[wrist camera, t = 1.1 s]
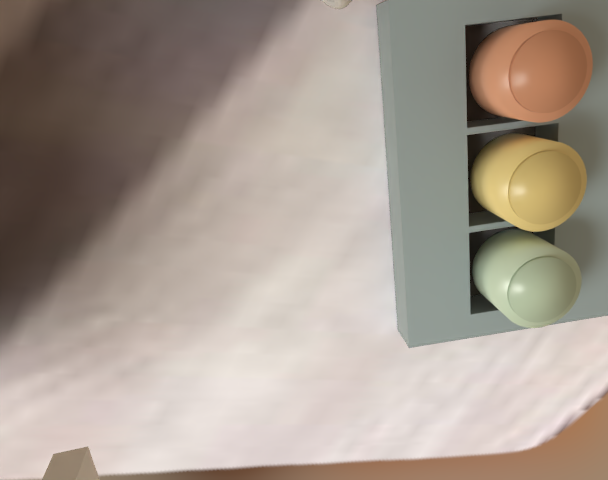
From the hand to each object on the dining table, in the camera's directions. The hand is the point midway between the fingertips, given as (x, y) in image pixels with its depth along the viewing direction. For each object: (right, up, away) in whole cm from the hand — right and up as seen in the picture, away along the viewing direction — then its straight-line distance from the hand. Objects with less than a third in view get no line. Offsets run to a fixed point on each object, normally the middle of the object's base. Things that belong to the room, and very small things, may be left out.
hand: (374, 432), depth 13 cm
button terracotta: (+10, +14, +18) cm, 25 cm away
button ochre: (+11, +9, +20) cm, 24 cm away
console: (+11, +9, +22) cm, 26 cm away
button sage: (+12, +3, +22) cm, 25 cm away
